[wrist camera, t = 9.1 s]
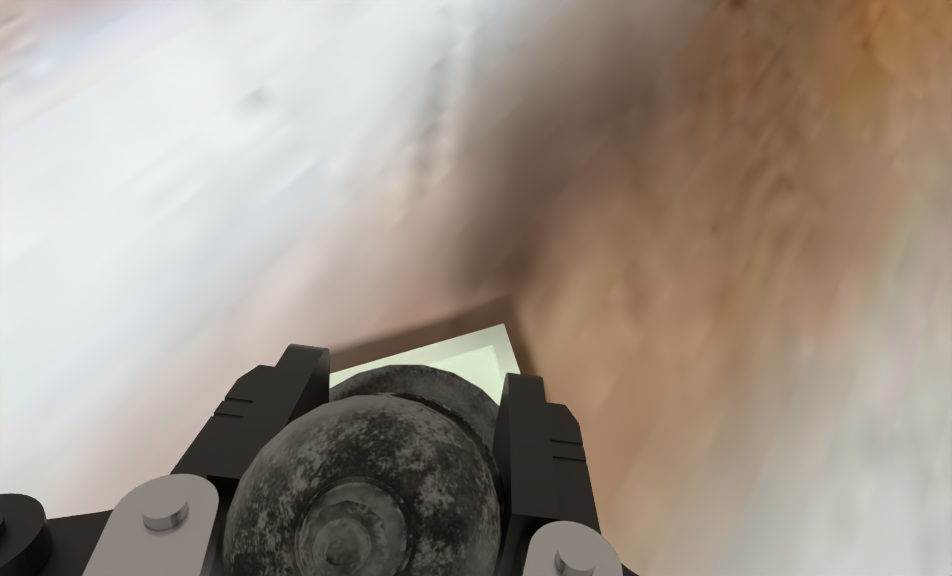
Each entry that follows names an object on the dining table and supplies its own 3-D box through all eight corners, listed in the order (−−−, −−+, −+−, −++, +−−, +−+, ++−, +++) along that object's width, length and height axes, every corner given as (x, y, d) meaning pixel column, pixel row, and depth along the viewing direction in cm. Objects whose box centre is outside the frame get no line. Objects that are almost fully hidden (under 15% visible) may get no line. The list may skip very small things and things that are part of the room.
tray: (500, 330, 26) (503, 323, 25) (576, 560, 24) (584, 566, 22) (281, 394, 25) (271, 390, 24) (333, 648, 22) (325, 661, 21)
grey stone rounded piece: (530, 586, 15) (837, 978, 3) (309, 626, 14) (-206, 1273, 3) (496, 372, 17) (627, 166, 5) (298, 399, 16) (-45, 230, 5)
